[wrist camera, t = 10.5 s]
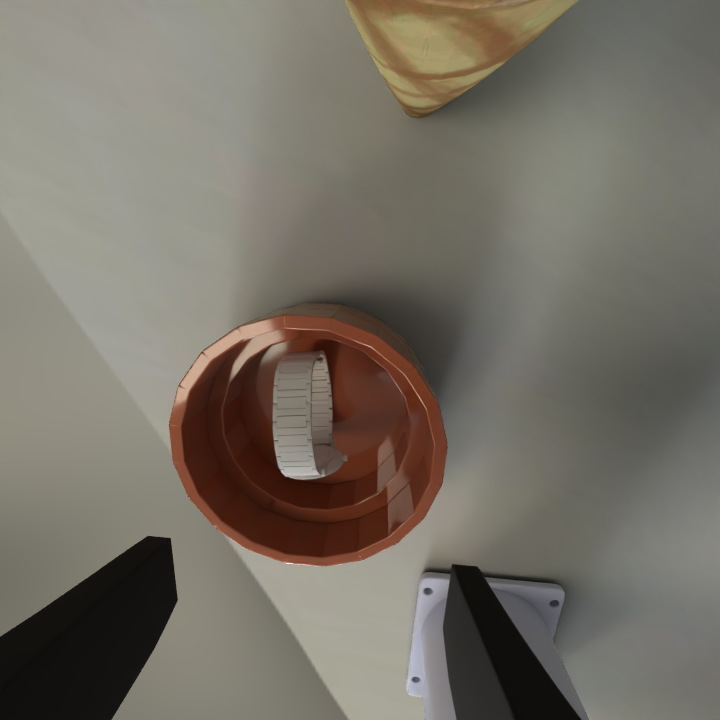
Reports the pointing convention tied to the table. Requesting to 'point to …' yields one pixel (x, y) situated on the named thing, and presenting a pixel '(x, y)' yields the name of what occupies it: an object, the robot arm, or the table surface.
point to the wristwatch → (304, 417)
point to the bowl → (352, 437)
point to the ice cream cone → (446, 42)
